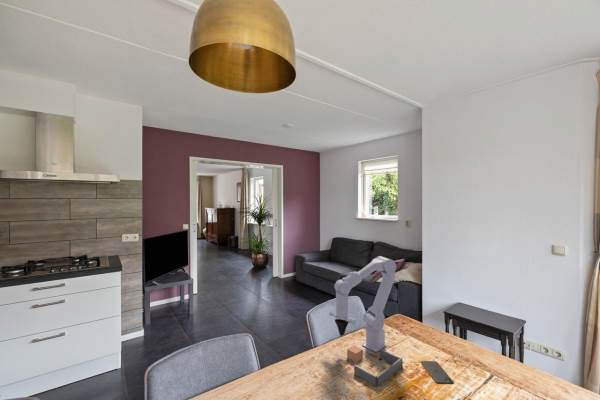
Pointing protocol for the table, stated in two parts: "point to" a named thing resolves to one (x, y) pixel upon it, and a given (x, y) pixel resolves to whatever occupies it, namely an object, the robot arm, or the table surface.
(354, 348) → the terracotta block
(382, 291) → the robot arm
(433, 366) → the smartphone
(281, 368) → the table surface
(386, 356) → the box
